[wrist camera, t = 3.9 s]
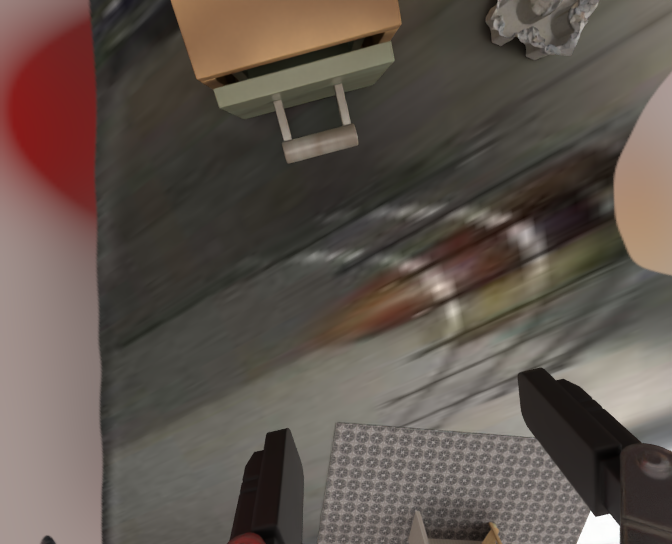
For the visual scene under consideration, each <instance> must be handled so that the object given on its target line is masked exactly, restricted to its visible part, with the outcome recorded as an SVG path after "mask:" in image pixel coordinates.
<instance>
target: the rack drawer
mask: <svg viewBox="0 0 672 544" xmlns="http://www.w3.org/2000/svg"><path fill="white" fill-rule="evenodd" d="M364 39H365V37H364V38H361V39H357V40H353V41H350V42H346V43H342V44H339V45H335V46H331V47H328V48H324V49H320V50H317V51H313V52H309V53H306V54H302V55H298V56H295V57H291V58H287V59H284V60H280V61H276V62H272V63H269V64H265V65H261V66H258V67H254V68H250V69H247V70H243V71H239V72H236V73H232V75H233V76H235V77H236V78H237V79H238V80H239V81H240V82H236V83H232V84H229V85H225V86H221V87H218V88H214V93H215V96H216V99H217V103H218V106H219V108H220V109H222V110H225V111H227V112H229V113H231V114H233V115H235V116H237V117H240V118H242V119H248V118H252V117H256V116H259V115H263V114H267V113H270V112H274V111H276V114H277V118H278V121H279V125H280V128H281V132H282V135H283V139H284V141H285V142H282V147H283V151H284V154H285V158H286V161H287V163H288V164H289V163H293V162H297V161H301V160H305V159H308V158H312V157H316V156H320V155H323V154H327V153H331V152H335V151H338V150H342V149H346V148H350V147H354V146H357V145H358V137H357V132H356V129H355V126H354V124H353V123H352V124H351V121H350V117H349V112H348V108H347V103H346V99H345V95H344V93H345V92H349V91H352V90H356V89H360V88H363V87H367V86H371V85H374V84H375V83H376V81H377V80H378V79H379V78H380V77H381V76H382V75H383V73H384V72H385V71H386V70H387V69H388V68H389V66H390V65H391V64H392V63H393V62H394V55H393V50H392V44H391V41H387V42H384V43H380V44H376V45H372V46H369V47H365V48H361V46H362V43H363V41H364ZM360 48H361V49H360ZM334 95H336V99H337V104H338V108H339V112H340V117H341V121H342V125H343V126H341V127H337V128H334V129H330V130H326V131H322V132H319V133H315V134H311V135H307V136H304V137H300V138H296V139H292V136H291V133H290V129H289V125H288V122H287V118H286V114H285V111H284V109H285V108H289V107H293V106H296V105H300V104H304V103H308V102H311V101H315V100H319V99H323V98H326V97H330V96H334Z"/></svg>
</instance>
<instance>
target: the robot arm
mask: <svg viewBox="0 0 672 544" xmlns="http://www.w3.org/2000/svg"><path fill="white" fill-rule="evenodd" d="M518 386H519V396H520V406H521V412H522V416H523V418H524V421H525V423H526V425H527V427H528V428H529V430H530V431H531V432H532V434H533V435H534V436H535V438H536V439H537V440H538V441H539V443H540V444H541V445H542V447H543V448H544V449H545V451H546V452H547V453H548V455H549V456H550V457H551V459H552V460H553V461H554V463H555V464H556V465H557V467H558V468H559V469H560V471H561V472H562V473H563V474H564V476H565V477H566V478H567V480H568V481H569V482H570V484H571V485H572V486H573V488H574V489H575V490H576V492H577V493H578V494H579V496H580V497H581V498H582V500H583V501H584V502H585V504H586V505H587V506H588V507H589V509H590V510H591V511H592V513H593V514H594V515H595V517H597V516H601V515H605V514H611V515H612V517H613V518H614V519H615V520H616V522H617V523H618V524H619V525H620V544H672V452H671V451H669V450H667V449H665V448H663V447H660V446H656V445H653V444H646V443H641V442H640V441H639V440H638V439H637V438H636V437H635V436H634V435H632V434H631V433H630V432H629V431H628V430H627V429H626V428H625V427H624V426H623V425H621V424H620V423H619V422H618V421H617V420H616V419H615V418H614V417H613V416H612V415H610V414H609V413H608V412H607V411H606V410H605V409H602V406H601V405H599V404H598V403H597V402H596V401H595V400H593V399H592V397H591V396H589V395H588V394H587V393H586V392H585V391H584V390H583V389H582V388H581V387H579V386H577V385H575V384H573V383H571V382H569V381H567V380H565V379H560V380H555V379H554V378H553V377H552V376H551V375H550V374H549V373H548V372H547V371H546V370H545V369H543V368H537V369H533V370H528V371H524V372H520V373H519V374H518ZM303 496H304V475H303V468H302V464H301V460H300V457H299V454H298V451H297V448H296V446H295V443H294V440H293V437H292V434H291V431H290V429H289V428H286V429H281V430H277V431H273V432H269V433H267V434H266V439H265V445H264V450H262V451H257V452H254V453H253V455H252V457H251V458H250V460H249V461H248V463H247V464H246V466H245V471H244V476H243V483H242V485H241V490H240V495H239V499H238V504H237V508H236V513H235V518H234V522H233V527H232V532H231V536H230V540H229V542H228V543H227V544H302V528H303Z"/></svg>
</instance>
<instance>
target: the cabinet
mask: <svg viewBox="0 0 672 544" xmlns="http://www.w3.org/2000/svg"><path fill="white" fill-rule="evenodd" d="M171 3H172V6H173V9H174V12H175V15H176V18H177V21H178V24H179V27H180V30H181V33H182V37H183V40H184V43H185V46H186V49H187V52H188V55H189V58H190V61H191V64H192V67H193V70H194V73H195V76H196V79H197V80H199V81H200V82H202V83H203V84H205V85H207V86H208V87H210V88H212V89H213V90H214V88H218V87H221V86H225V85H229V84H232V83H236V82H240V81H239V80H238V79H237V78H236V77H235V76H233V75H232V73H236V72H239V71H243V70H247V69H250V68H254V67H258V66H261V65H265V64H269V63H272V62H276V61H280V60H284V59H287V58H291V57H295V56H298V55H302V54H306V53H309V52H313V51H317V50H320V49H324V48H328V47H331V46H335V45H339V44H342V43H346V42H350V41H353V40H357V39H361V38H364V37H365V39H364V41H363V43H362V46H361V48H365V47H369V46H372V45H376V44H380V43H384V42H387V41H390V40H391V39H392V37H393V36H394V34H395V33H396V31H397V30H398V28H399V27H400V25H401V23H402V22H401V17H400V11H399V5H398V0H171ZM361 48H360V49H361Z"/></svg>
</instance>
